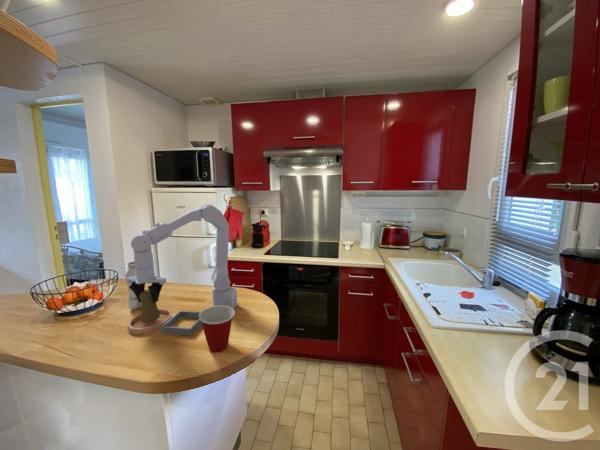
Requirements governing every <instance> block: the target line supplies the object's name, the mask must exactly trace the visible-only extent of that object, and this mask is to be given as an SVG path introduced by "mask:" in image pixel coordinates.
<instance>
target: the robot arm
mask: <svg viewBox="0 0 600 450" xmlns="http://www.w3.org/2000/svg"><path fill="white" fill-rule="evenodd" d="M202 220H203V221H205V222H206V223H209V224H211V225H212V226H213V227H215V229H216V236H215V238H216V239H215V240H216V241H215V263H214V264H215V265H214V269H213V270H214V271H213V273H212V275H211V280H212V283H213V286H212V287H211V288H212V289H211V292H212V305H213V306H227V307H231V308H232V309H234V310H235V309H236V308H237V306H238V305H239V303H238V291H237V289H236V288H234V287H231V280H230V279H229V278H230V277H229V270H228V263H229V262H228V261H229V260H228V258H229V256H228V255H229V240H230V239H229V235H230V223H229V222H228V220H227V219H226V217H225V216H224V214H223V212H222V211H221V210H220V209H218V208H217V207H216V206H215V205H212V204H209V203H208V204H204V205H203V206H202V207H201V206H199V207H196V208H193V209H192V210H190V211H188V212H187V213H184V214H183V215H181V216H179V217H178V218H176V219H174V220H171V222H164V221H163V222H161V223H160V222H157V223H155V224H154V225H155V226H153V227H151V228H149V229H147V230H146V229H144V230H142V232H141V233H139V234H136V236H134V238H132V240H131V242H130V246H131V249H132V250H133V260H134V261H133V262H135V269H136V276H130V277H128V278H126V279H125V281H127V282H126V284H127V283H132V285H130V286H129V288H130V289H131V290H132V291H133V292H134V293H135V295H136V297H137V299H138V301H139V302H142V301H141V300H140V298H139V294H140V293H141V292H142V291H144V290H146V289H145V288H146V284H151V285H149V286H147V290H148V289H149V291H150V293H151V296H152V302H153V303H156V304H157V302H159V298H160V293H161V290H162V288H163V286H164V285H166V284H167V277H161V276H157V275H156V273H155V265H154V263H155V262H154V256H153V255H154V253H153V251H152V245H157V244H158V243H160V242H163V241H164V240H167V239H168V238H170V237H172V236H173V233H174V232H173V231H176V230H178V229H179V228H181V227H184V226H185V225H187V224H189V223H191V222H193V221H194V222H202Z"/></svg>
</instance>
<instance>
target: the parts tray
mask: <svg viewBox="0 0 600 450" xmlns="http://www.w3.org/2000/svg"><path fill="white" fill-rule="evenodd" d="M200 312H201V311H194V310H193V311H192V310H191V311H190V310H179V311H178V312H177V313H176V314H174V315H172V318H171V319H170V320H168V321H167V322H166V323H165V324H164V325H163V326H161V329H160V332H161V333H160V334H162V335H177V336H188V337H189V336H193V335H194V333H195V332H196V331H197V330H198V329H199V328H200V327H201V326H202V323H201V321H200V319H199V314H200ZM181 318H185V319H186V318H188V319H197V320H196V321H195V322H194V323H193V324H192V325H191V326H190V327H181V326H174V325H175V324H176V323H177V322H178V321H179V320H181Z"/></svg>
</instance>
